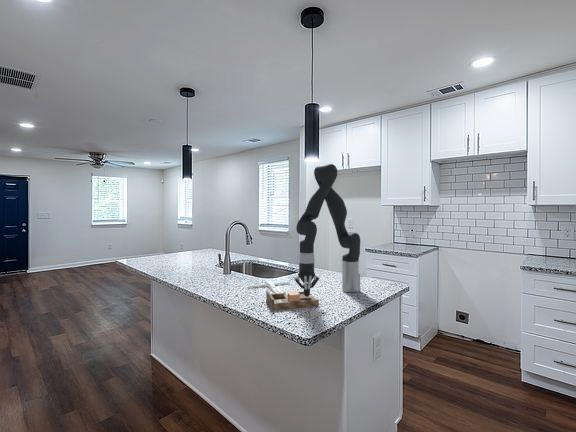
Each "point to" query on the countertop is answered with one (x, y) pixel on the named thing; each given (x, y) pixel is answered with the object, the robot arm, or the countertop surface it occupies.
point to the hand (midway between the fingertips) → (306, 296)
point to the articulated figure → (271, 286)
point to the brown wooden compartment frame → (282, 302)
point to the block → (293, 296)
